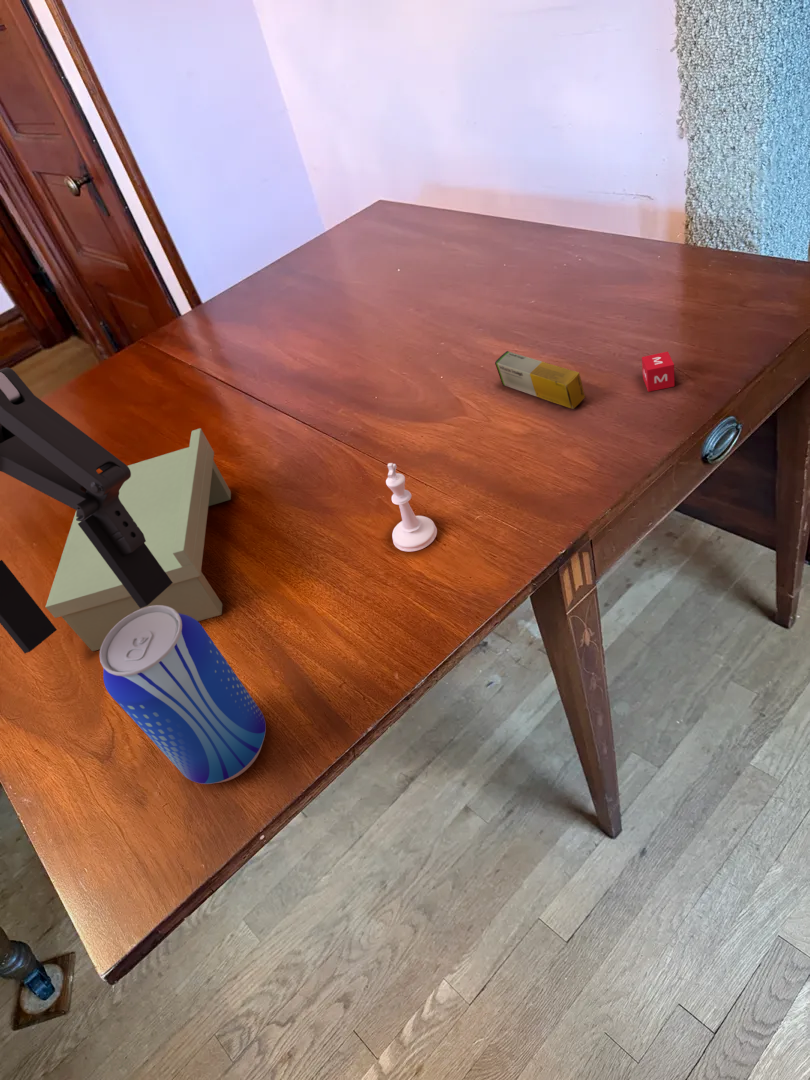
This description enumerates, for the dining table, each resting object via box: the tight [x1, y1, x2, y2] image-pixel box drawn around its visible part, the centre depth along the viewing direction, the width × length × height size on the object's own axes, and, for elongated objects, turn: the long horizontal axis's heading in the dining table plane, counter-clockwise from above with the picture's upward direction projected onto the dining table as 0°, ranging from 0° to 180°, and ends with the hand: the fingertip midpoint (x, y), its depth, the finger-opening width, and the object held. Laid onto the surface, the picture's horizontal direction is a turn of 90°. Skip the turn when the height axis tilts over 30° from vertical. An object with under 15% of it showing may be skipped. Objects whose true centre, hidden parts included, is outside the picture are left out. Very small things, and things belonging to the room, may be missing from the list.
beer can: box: [99, 605, 267, 785], centre depth 62 cm, size 8×8×16 cm
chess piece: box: [385, 462, 438, 553], centre depth 77 cm, size 5×5×10 cm
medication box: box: [494, 350, 586, 410], centre depth 92 cm, size 12×3×4 cm, turn 40°
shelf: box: [45, 427, 232, 652], centre depth 85 cm, size 16×22×10 cm
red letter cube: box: [641, 351, 675, 392], centre depth 88 cm, size 3×3×3 cm
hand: (95, 620), depth 52 cm, fingers open, 13 cm apart
